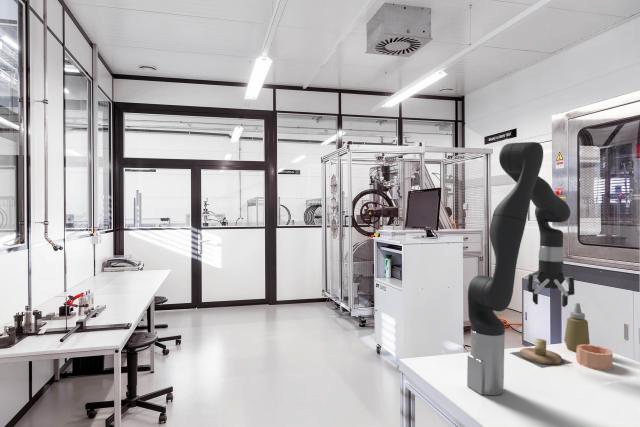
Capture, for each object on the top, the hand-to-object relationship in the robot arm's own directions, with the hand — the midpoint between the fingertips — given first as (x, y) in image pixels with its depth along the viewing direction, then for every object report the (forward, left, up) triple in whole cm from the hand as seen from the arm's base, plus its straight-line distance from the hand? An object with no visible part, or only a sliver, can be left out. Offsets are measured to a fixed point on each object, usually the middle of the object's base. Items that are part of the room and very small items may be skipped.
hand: (549, 305), depth 141 cm
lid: (-1, +2, -19) cm, 19 cm away
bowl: (+12, -8, -20) cm, 24 cm away
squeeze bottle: (+19, +4, -20) cm, 28 cm away
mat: (-1, +2, -20) cm, 20 cm away
